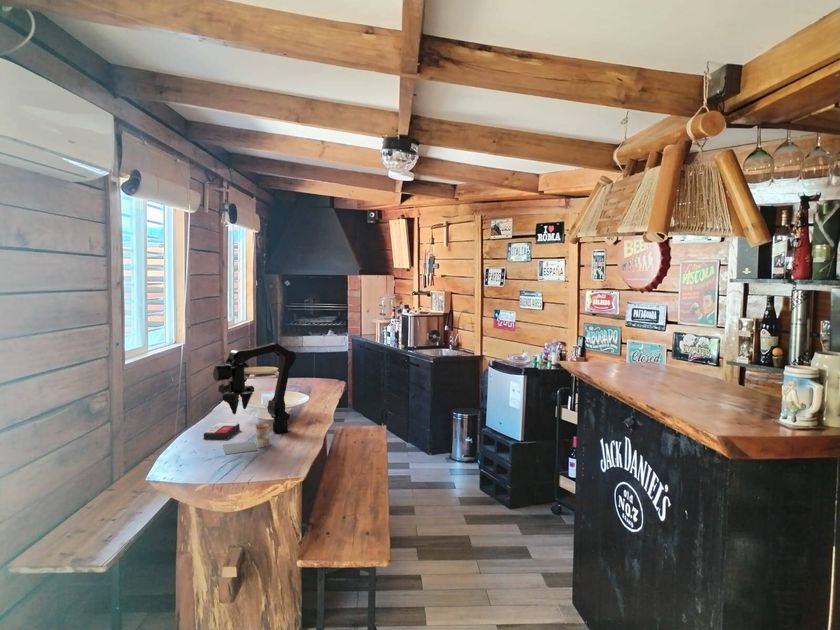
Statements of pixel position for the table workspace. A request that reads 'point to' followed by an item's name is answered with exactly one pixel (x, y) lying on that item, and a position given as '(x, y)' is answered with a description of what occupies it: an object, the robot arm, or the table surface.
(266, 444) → the block
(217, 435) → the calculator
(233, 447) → the mat
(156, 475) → the table surface
